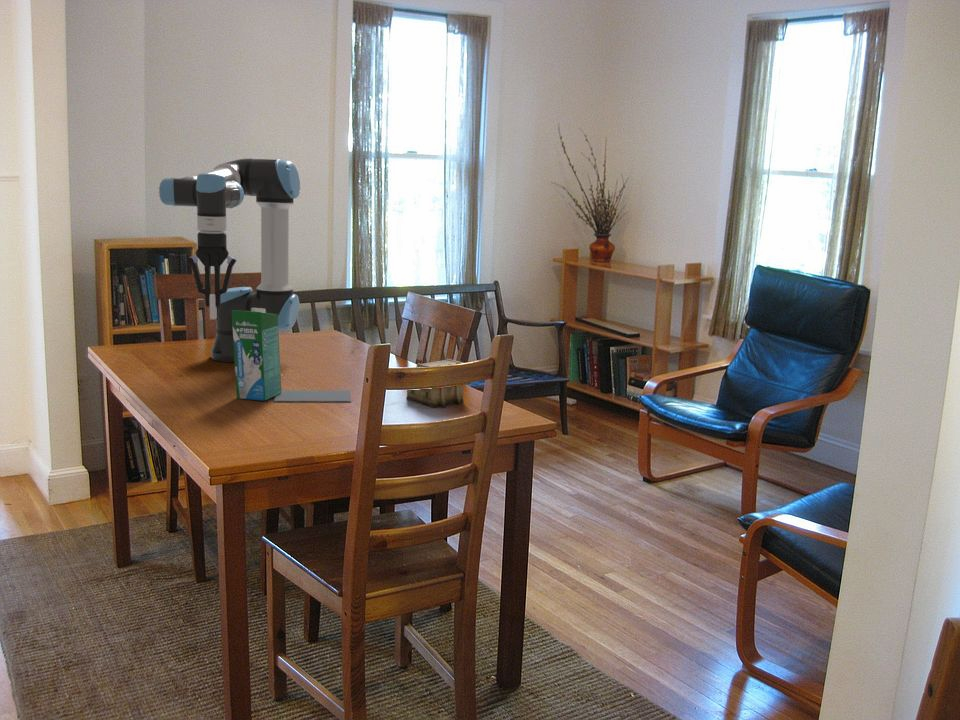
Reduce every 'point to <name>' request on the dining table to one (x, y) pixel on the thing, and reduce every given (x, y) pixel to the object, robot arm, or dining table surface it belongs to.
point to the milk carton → (256, 354)
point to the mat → (313, 396)
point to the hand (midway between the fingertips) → (213, 318)
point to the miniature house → (437, 391)
